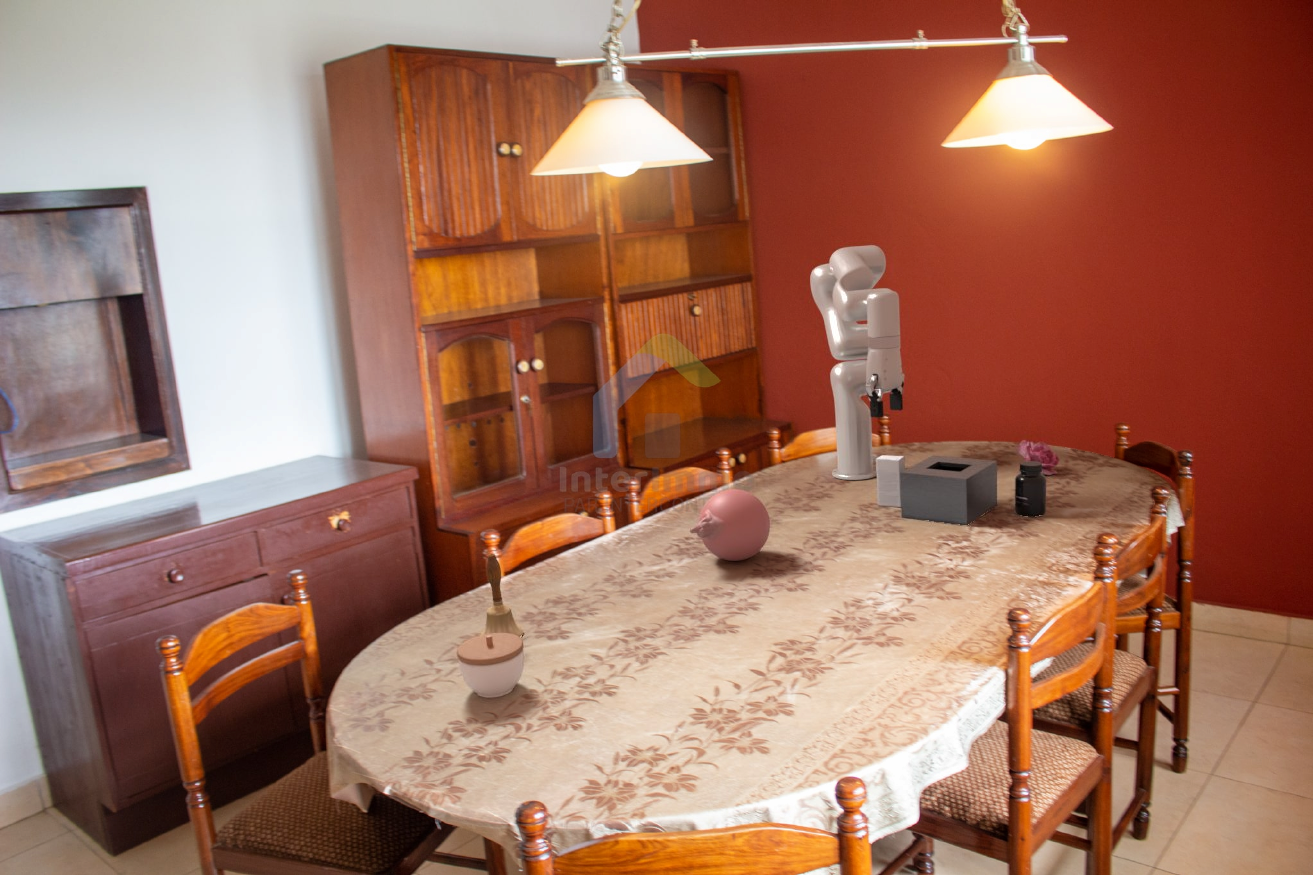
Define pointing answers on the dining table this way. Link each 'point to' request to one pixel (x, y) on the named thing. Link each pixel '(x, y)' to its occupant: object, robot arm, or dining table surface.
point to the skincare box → (889, 480)
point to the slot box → (949, 489)
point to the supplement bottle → (1030, 490)
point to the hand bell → (498, 604)
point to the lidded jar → (491, 663)
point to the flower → (1039, 455)
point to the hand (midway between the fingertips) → (886, 413)
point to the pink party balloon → (733, 525)
